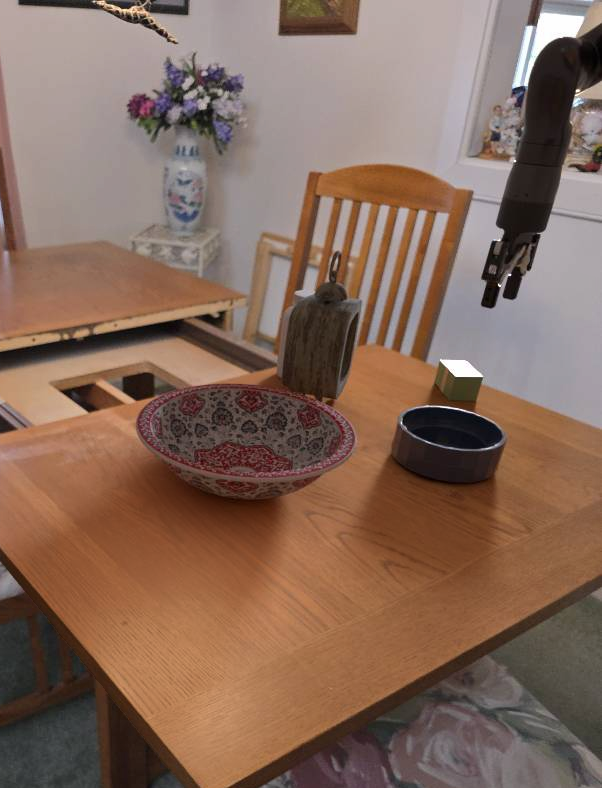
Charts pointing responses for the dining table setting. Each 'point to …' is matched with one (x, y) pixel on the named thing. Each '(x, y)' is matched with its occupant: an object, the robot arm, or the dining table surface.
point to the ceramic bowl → (245, 438)
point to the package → (458, 380)
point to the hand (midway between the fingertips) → (498, 303)
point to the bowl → (448, 443)
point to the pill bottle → (296, 298)
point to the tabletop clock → (321, 340)
